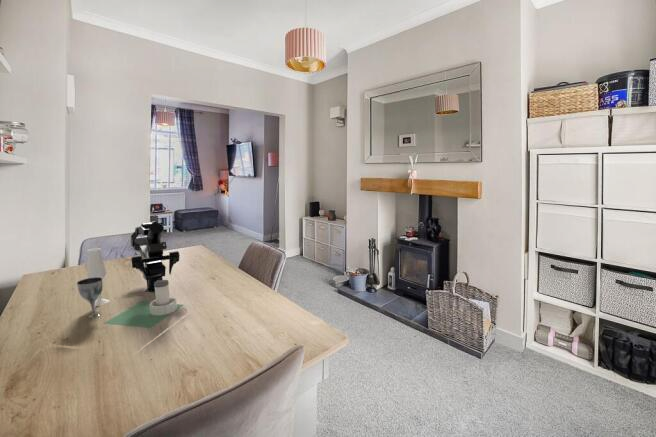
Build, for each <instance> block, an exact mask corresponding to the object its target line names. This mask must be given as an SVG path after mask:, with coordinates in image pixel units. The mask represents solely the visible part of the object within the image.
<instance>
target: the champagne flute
mask: <svg viewBox="0 0 656 437" xmlns="http://www.w3.org/2000/svg"><path fill="white" fill-rule="evenodd" d="M86 253H87V255H86V258H87V259H86V261H87V263H86V266H87V268H86V271H87V274H86V275H87V278H93V277H100V278H102V280H103V279H104V278H105V277H106V275H107V269H106V265H105V261H104V257H103V256H104V255H103V252H102V248H99V247H96V248H95V247H94V248H90V249H89V248H88V249H87V250H86ZM109 302H110V300H109V299H106V298H102V293H101V294H100V296H99V297H98V298H97V300H96V301H95V307H98V306H99V307H100V306H103V305H105V304H107V303H109Z"/></svg>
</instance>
